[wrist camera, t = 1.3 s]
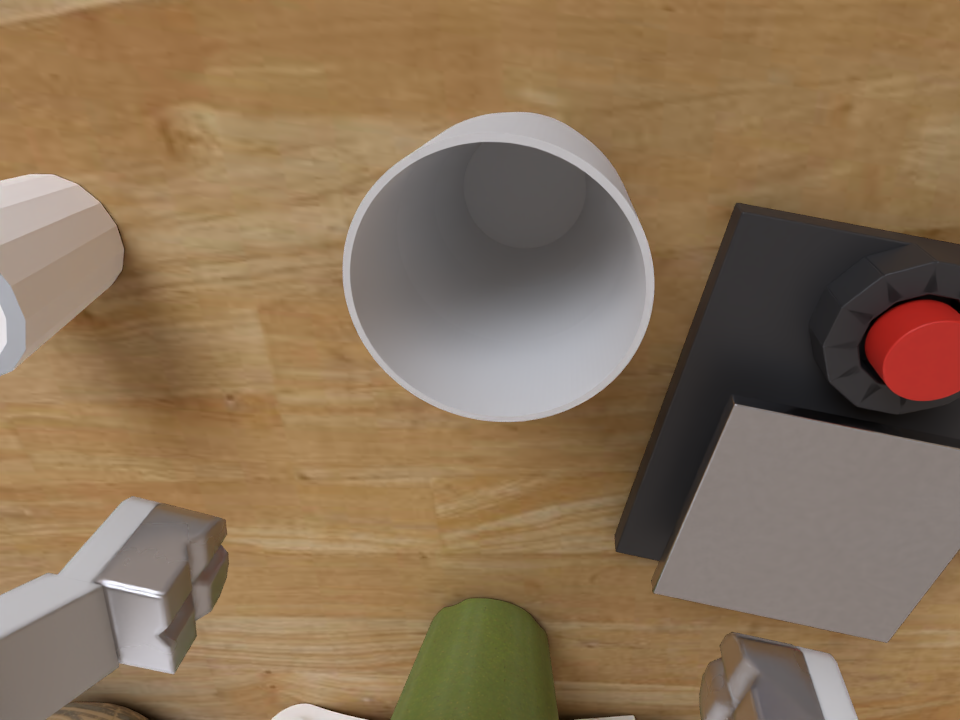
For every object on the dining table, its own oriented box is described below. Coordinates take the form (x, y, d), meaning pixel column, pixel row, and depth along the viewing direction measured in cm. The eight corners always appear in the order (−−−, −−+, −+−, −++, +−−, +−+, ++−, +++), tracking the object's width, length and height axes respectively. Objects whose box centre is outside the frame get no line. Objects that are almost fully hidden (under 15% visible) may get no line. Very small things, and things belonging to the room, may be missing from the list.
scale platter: (730, 392, 25) (734, 404, 25) (1015, 449, 25) (1027, 462, 24) (650, 580, 31) (651, 593, 30) (881, 629, 31) (887, 643, 30)
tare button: (889, 290, 23) (910, 312, 21) (980, 308, 23) (1008, 331, 21) (849, 366, 24) (866, 392, 23) (934, 383, 24) (957, 409, 23)
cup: (554, 316, 28) (542, 465, 19) (389, 220, 27) (298, 333, 18) (673, 152, 24) (724, 249, 15) (484, 30, 23) (426, 61, 14)
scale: (736, 200, 25) (753, 226, 22) (1112, 271, 24) (1175, 306, 21) (614, 535, 34) (616, 580, 31) (882, 591, 33) (907, 642, 31)
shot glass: (89, 143, 27) (-52, 191, 21) (163, 293, 30) (59, 371, 24) (-42, 174, 28) (-207, 227, 22) (42, 314, 32) (-83, 392, 26)
